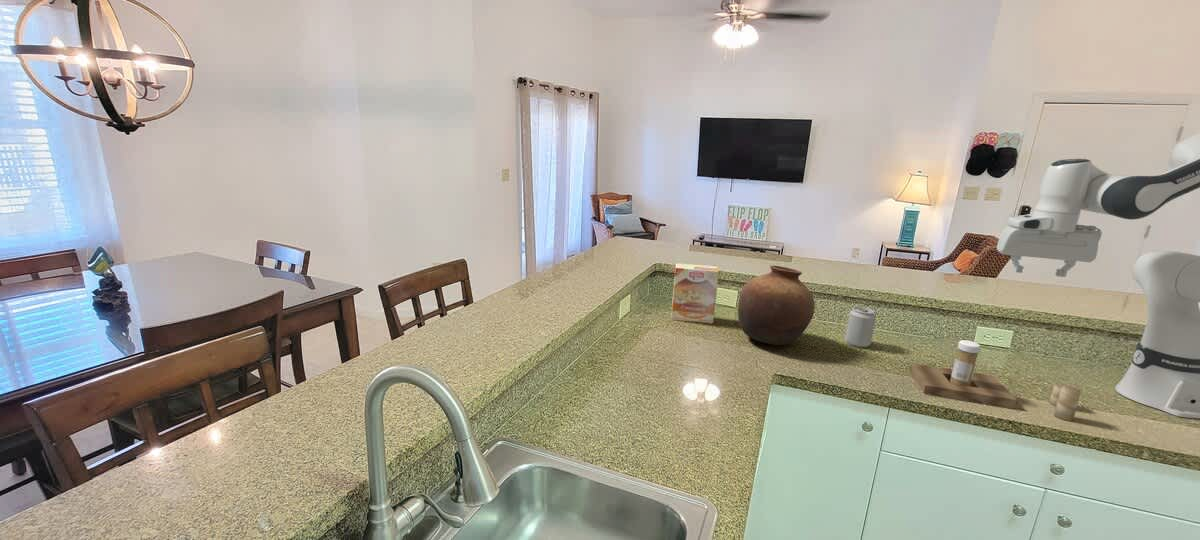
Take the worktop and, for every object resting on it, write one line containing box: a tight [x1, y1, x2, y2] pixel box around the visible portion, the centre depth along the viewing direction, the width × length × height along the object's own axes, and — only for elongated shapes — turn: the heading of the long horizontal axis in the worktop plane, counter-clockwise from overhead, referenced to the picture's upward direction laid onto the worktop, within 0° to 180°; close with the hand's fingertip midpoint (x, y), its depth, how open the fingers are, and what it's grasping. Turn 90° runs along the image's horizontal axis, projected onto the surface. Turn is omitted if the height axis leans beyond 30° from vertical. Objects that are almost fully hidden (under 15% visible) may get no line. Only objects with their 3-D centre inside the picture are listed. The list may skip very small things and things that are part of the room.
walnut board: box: [908, 362, 1018, 410], centre depth 130 cm, size 20×14×2 cm
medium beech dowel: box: [1054, 385, 1082, 422], centre depth 117 cm, size 3×3×8 cm
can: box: [844, 306, 877, 349], centre depth 156 cm, size 8×8×12 cm
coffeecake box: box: [670, 262, 720, 324], centre depth 172 cm, size 15×7×20 cm, turn 81°
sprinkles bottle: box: [950, 339, 981, 386], centre depth 128 cm, size 5×5×14 cm
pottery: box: [737, 264, 816, 346], centre depth 154 cm, size 23×23×25 cm
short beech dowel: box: [1048, 383, 1065, 407], centre depth 123 cm, size 3×3×5 cm
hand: (1038, 274), depth 129 cm, fingers open, 8 cm apart
